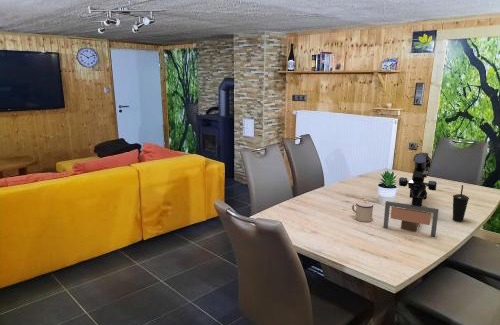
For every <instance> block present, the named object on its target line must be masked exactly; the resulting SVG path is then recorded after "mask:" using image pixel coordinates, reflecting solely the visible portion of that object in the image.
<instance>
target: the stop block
mask: <svg viewBox="0 0 500 325" xmlns="http://www.w3.org/2000/svg"><path fill="white" fill-rule="evenodd" d="M409 210H411V209H409ZM415 211H417V210H415ZM419 226H420V223H414V222H409V221H403V220H401V224H400V230H406V231H410V232H414V233H417V229H418V228H419Z"/></svg>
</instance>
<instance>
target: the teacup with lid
mask: <svg viewBox="0 0 500 325" xmlns="http://www.w3.org/2000/svg"><path fill="white" fill-rule="evenodd" d="M351 205H352V206H351V210H352V211H353V213H355V219H356V220H357V221H358V222H363V223H369V222H371V221H372V220H373V211H374V209H373V208H374V203H373V202H372V201H368V198H363V199H362V200H358V201H357V202H356V203H354V204H351ZM355 206H356V209H355Z"/></svg>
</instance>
